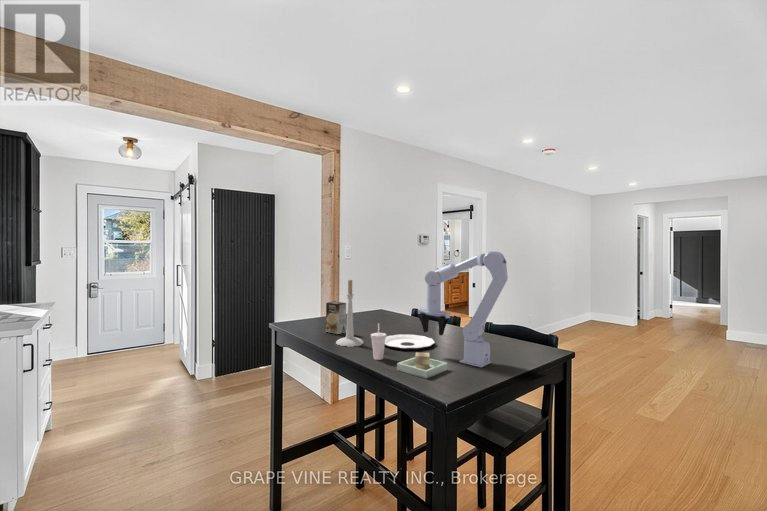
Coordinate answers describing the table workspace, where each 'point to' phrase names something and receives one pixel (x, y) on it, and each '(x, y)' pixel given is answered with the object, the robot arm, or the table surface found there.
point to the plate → (418, 341)
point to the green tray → (434, 369)
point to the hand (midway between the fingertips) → (433, 333)
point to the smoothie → (378, 344)
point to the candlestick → (349, 324)
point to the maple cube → (422, 360)
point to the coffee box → (336, 317)
